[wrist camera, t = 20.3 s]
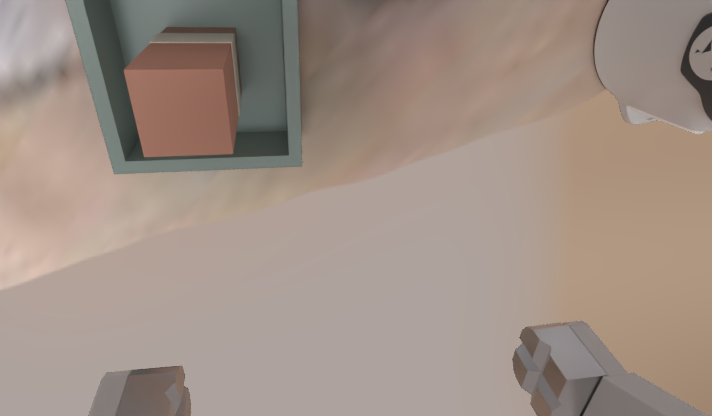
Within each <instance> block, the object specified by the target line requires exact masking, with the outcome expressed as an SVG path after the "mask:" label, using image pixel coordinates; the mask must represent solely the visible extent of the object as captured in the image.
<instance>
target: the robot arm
mask: <svg viewBox="0 0 712 416" xmlns="http://www.w3.org/2000/svg"><path fill="white" fill-rule="evenodd" d="M594 56H595V65H596V70H597V73H598V76H599V78H600V80H601V82H602V83H603V85H604V86H605V87H606V89H607V90H609V91H610V93H612V94H613V95H614V96H615V98H616V99H617V100H618V103H619V107H620V112H621V115H622V117H623V119H624V120H625V121H626V122H628V123H631V124H634V125H638V124H643V123H648V122H652V121H657V120H660V121H662V122H665V123H667V124H670V125H673V126H675V127H678V128H680V129H683V130H685V131H688V132H691V133H694V134H702V133H703V132H705V131H712V0H609V1H608V3H607V5H606V7H605V9H604V12H603V14H602V17H601V19H600V22H599V26H598V29H597V34H596V39H595V48H594ZM520 339H521V341H522V344H521V345H520V346H519V347H518V348H517V349H516V350H515V352H514V356H513V369H514V373H515V375H516V378H517V380H518V382H519V384H520V386H521V388H523V389H524V390H525V391H527V392H528V393H530V394H531V395H532V396H531V403H530V404H531V406H532V408H533V409H534V411H535V413H536V415H537V416H708V415H706V414H704V413H703V412H701V411H699V410H697V409H696V408H694V407H692V406H691V405H689V404H687V403H685V402H684V401H682V400H680V399H678V398H676V397H675V396H673V395H671V394H669V393H668V392H666V391H664V390H663V389H661V388H659V387H658V386H656V385H654V384H652V383H651V382H649V381H647V380H645V379H644V378H642V377H640V376H638V375H637V374H635V373H627V371H626V370H625V369H624V368H623V367H622V365H621V364H620V363H619V362H618V360H617V359H616V358H615V357H614V356H613V354H612V353H611V352H610V351H609V350H608V348H607V347H606V346H605V345H604V344H603V342H602V341H601V340H600V339H599V337H598V336H597V335H596V334H595V333H594V331H593V330H592V329H591V328H590V326H589V325H588V324H587V323H585V322H583V321H575V322H566V323H554V324H546V325H538V326H530V327H525V328H524V329H523V330H522V332H521V335H520ZM184 379H185V374H184V370H183V367H182V366H172V367H160V368H149V369H138V370H128V371H117V372H107V373H106V374H105V376H104V377H103V378H102V380H101V382H100V385H99V387H98V390H97V393H96V396H95V398H94V401H93V404H92V407H91V410H90V412H89V415H88V416H191V401H190V394H189V390H188V388H186V387H185V386H183V385H184Z"/></svg>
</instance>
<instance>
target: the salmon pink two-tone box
mask: <svg viewBox="0 0 712 416" xmlns="http://www.w3.org/2000/svg"><path fill="white" fill-rule="evenodd" d="M124 74H125V79H126V83H127V87H128V91H129V96H130V100H131V104H132V108H133V113H134V117H135V121H136V125H137V129H138V134H139V138H140V142H141V146H142V151H143V155H144V157H165V156H193V155H221V154H233V151H234V144H235V137H236V130H237V124H238V117H239V116H240V109H241V96H242V86H241V76H240V66H239V55H238V45H237V35H236V28H227V27H166V28H165V29H164V30H163V31H162V32H161V33H158V34H157V35H156V36H155V37H154V38H153V39H152V40H151V41H150V44H149V45H148V46H147V47H146V48H145V49H144V50H143V51H142V52H141V53H140V54H139V55H138V56H137V57H136V58H135V59H134V60H133V61H132V62H131V63H130V64H129V65H128V66H127V67H126V68H125V69H124Z"/></svg>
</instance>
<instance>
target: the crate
mask: <svg viewBox="0 0 712 416" xmlns="http://www.w3.org/2000/svg"><path fill="white" fill-rule="evenodd" d="M65 1H66V5H67V8H68V12H69V16H70V19H71V23H72V26H73V30H74V33H75V37H76V40H77V44H78V47H79V51H80V55H81V58H82V62H83V65H84V69H85V72H86V76H87V79H88V83H89V87H90V90H91V94H92V97H93V101H94V104H95V108H96V111H97V115H98V118H99V122H100V126H101V129H102V133H103V136H104V140H105V143H106V147H107V150H108V154H109V158H110V161H111V165H112V168H113V172H114V174H130V173H154V172H178V171H202V170H226V169H250V168H274V167H299V166H302V143H301V108H300V73H299V38H298V3H297V0H65ZM166 27H227V28H236V35H237V45H238V55H239V66H240V76H241V86H242V96H241V109H240V116H239V117H238V124H237V130H236V137H235V144H234V151H233V154H221V155H193V156H165V157H144V155H143V151H142V146H141V142H140V138H139V134H138V129H137V125H136V121H135V117H134V113H133V108H132V104H131V100H130V96H129V91H128V87H127V83H126V79H125V74H124V69H125V68H126V67H127V66H128V65H129V64H130V63H131V62H132V61H133V60H134V59H135V58H136V57H137V56H138V55H139V54H140V53H141V52H142V51H143V50H144V49H145V48H146V47H147V46H148V45H149V44H150V41H151V40H152V39H153V38H154V37H155V36H156V35H157V34H158V33H161V32H162V31H163V30H164V29H165V28H166Z"/></svg>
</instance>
